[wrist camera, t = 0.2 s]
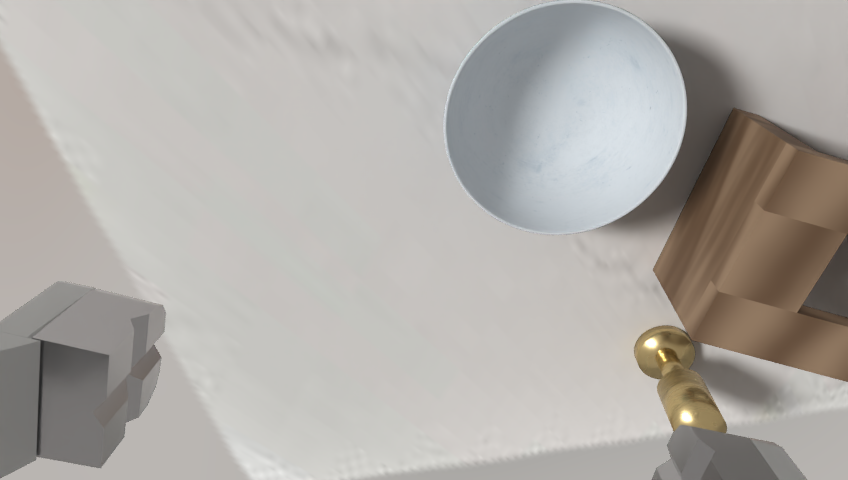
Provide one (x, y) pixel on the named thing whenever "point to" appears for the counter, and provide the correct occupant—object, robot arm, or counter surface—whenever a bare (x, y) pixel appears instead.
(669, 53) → the chinaware
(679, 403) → the brass peg
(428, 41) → the counter surface
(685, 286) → the keyhole shelf
